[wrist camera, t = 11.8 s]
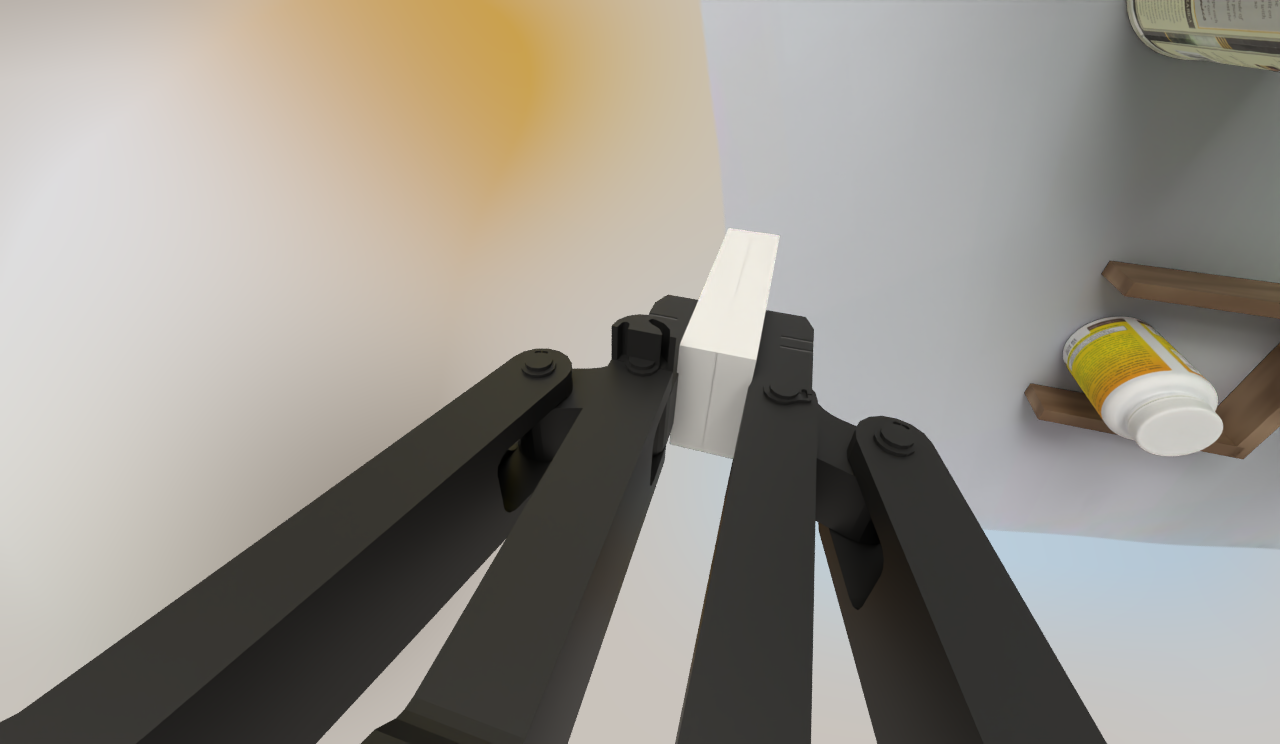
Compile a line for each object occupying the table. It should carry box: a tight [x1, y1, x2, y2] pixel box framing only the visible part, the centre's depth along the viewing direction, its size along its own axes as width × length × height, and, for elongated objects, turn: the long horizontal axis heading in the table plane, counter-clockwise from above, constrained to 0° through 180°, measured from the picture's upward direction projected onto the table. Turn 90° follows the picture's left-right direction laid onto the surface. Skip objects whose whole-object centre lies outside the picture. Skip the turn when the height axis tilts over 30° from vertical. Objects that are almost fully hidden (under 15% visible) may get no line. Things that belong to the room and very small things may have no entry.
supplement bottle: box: [1063, 316, 1223, 456], centre depth 34 cm, size 6×6×10 cm
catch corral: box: [1024, 261, 1280, 459], centre depth 36 cm, size 12×14×4 cm
